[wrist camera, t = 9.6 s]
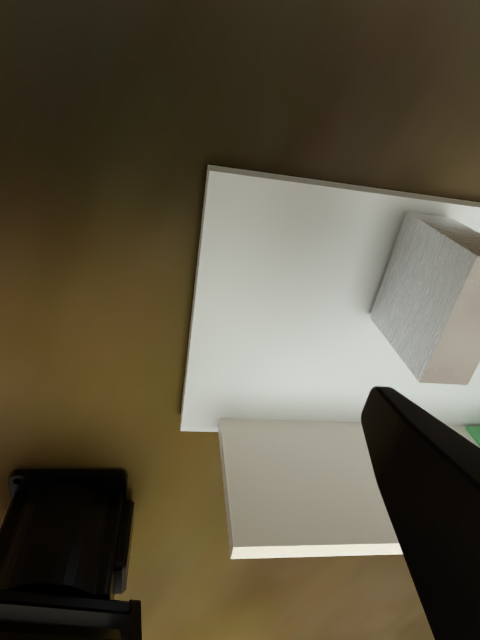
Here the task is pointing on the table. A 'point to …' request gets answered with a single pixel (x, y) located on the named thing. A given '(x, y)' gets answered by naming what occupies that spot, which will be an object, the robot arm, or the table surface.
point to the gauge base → (302, 357)
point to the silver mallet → (433, 299)
